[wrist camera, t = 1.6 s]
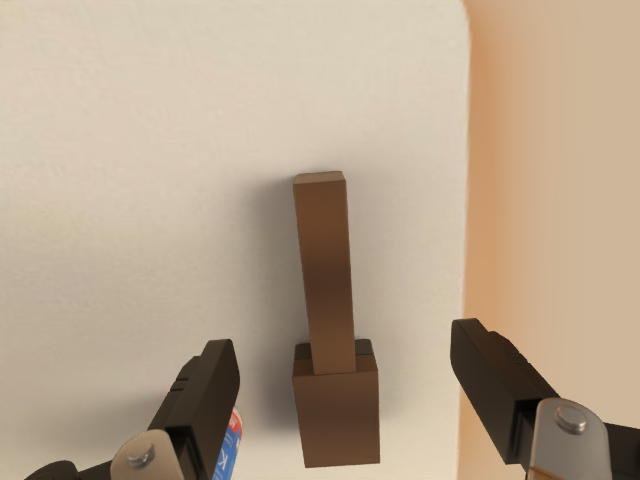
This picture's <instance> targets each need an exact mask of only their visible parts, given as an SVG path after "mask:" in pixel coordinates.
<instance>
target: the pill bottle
mask: <svg viewBox="0 0 640 480" xmlns="http://www.w3.org/2000/svg"><path fill="white" fill-rule="evenodd" d="M242 429H243V424H242V420H241V417H240V414H239V413H238V411H237V410H236V408H235V407H234V408H233V411H232V415H231V418H230V421H229V425H228V428H227V431H226V435H225V438H224V441H223V445H222V448H221V451H220V455H219V458H218V461H217V465H216V468H215V471H214V475H213V478H212V480H230V479H231V475H232V471H233V467H234V463H235V459H236V455H237V452H238V448H239V444H240V440H241V435H242Z"/></svg>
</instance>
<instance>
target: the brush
mask: <svg viewBox="0 0 640 480" xmlns="http://www.w3.org/2000/svg"><path fill="white" fill-rule="evenodd" d="M293 192H294V201H295V210H296V219H297V228H298V237H299V246H300V255H301V264H302V272H303V281H304V290H305V299H306V308H307V317H308V326H309V335H310V344H300V345H295V354H294V363H293V373H292V380H293V387H294V394H295V401H296V408H297V415H298V422H299V429H300V436H301V443H302V450H303V457H304V464H305V468H315V467H330V466H346V465H361V464H377V463H380V434H379V387H378V368H377V364H376V360H375V356H374V352H373V348H372V344H371V340H355V341H354V324H353V305H352V285H351V266H350V247H349V228H348V209H347V190H346V180H345V178H344V176H343V174H342V172H341V171H334V172H322V173H310V174H298V175H297V176H296V178H295V181H294V184H293Z"/></svg>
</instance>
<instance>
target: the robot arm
mask: <svg viewBox="0 0 640 480" xmlns="http://www.w3.org/2000/svg"><path fill="white" fill-rule="evenodd" d="M450 359H451V365H452V368H453V371H454V373H455V375H456V377H457V379H458V381H459V382H460V384H461V386H462V388H463V390H464V391H465V393H466V395H467V397H468V398H469V400H470V402H471V404H472V406H473V407H474V409H475V411H476V413H477V415H478V416H479V418H480V420H481V422H482V423H483V425H484V427H485V429H486V430H487V432H488V434H489V436H490V438H491V439H492V441H493V443H494V445H495V447H496V448H497V450H498V452H499V454H500V456H501V457H502V459H503V461H504V462H505V464H506V465H507V464H521V465H522V467H523V469H524V470H525V472H526V475H525V480H640V429H637V428H631V427H626V426H620V425H615V424H609V423H605V422H602V420H601V419H600V418H599V417H598V416H597V415H596V414H594V413H593V412H592V411H590V410H589V409H588V408H586V407H584V406H583V405H580V404H578V403H576V402H573V401H571V400H567V399H563V398H561V397H560V396H559V395H558V394H557V393H556V392H555V390H554V389H553V388H552V387H551V386H550V385H549V384H548V383H547V382H546V380H545V379H544V378H543V377H542V376H541V375H540V374H539V373H538V372H537V371H536V369H535V368H534V367H533V366H532V365H531V364H530V363H528V362H527V359H526V358H525V357H524V356H523V355H522V354H521V353H519V351H518V350H517V349H516V347H515V346H514V345H513V344H512V343H511V342H510V341H509V340H508V339H506V338H505V337H503V336H501V335H499V334H498V333H497V332H495V331H491V332H488V331H487V330H486V329H485V327H484V326H483V325H482V324H481V323H480V322H479V320H478V319H476V318H469V319H458V320H453V322H452V328H451V348H450ZM239 386H240V374H239V369H238V364H237V360H236V355H235V351H234V347H233V343H232V340H231V339H221V340H210V341H208V343H207V344H206V346H205V348H204V350H203V352H202V354H201V356H194V357H193V358H192V359H191V360H190V361H189V362H187V363H186V364H185V365H184V366H183V367H182V369H181V371H180V373H179V374H178V376H177V378H176V382H174V383H173V385H172V387H171V388H170V392H168V394H167V396H166V397H165V399H164V401H163V403H162V404H161V406H160V408H159V410H158V411H157V413H156V415H155V417H154V419H153V420H152V422H151V424H150V426H149V427H148V429H147V431H145V432H143V433H140V434H138V435H136V436H135V437H133V438H132V439H130V440H129V441H128V442H127V443H125V444H124V445H123V446H122V447H121V448H120V450H119V451H118V452H117V454H116V455H115V457H114V458H113V460H110V461H108V462H105V463H102V464H100V465H97V466H94V467H91V468H89V469H86V470H83V471H80V472H78V471H77V469H76V467H75V465H74V464H73V463H72V462H70V461H66V460H64V461H57V462H53V463H50V464H48V465H46V466H44V467H42V468H40V469H38V470H37V471H35V472H34V473H32V474H31V475H29V476H28V477H27V478H26V479H24V480H212V478H213V475H214V471H215V468H216V465H217V461H218V458H219V455H220V451H221V448H222V445H223V441H224V438H225V435H226V431H227V428H228V425H229V421H230V418H231V415H232V411H233V408H234V405H235V401H236V398H237V395H238V391H239Z"/></svg>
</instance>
